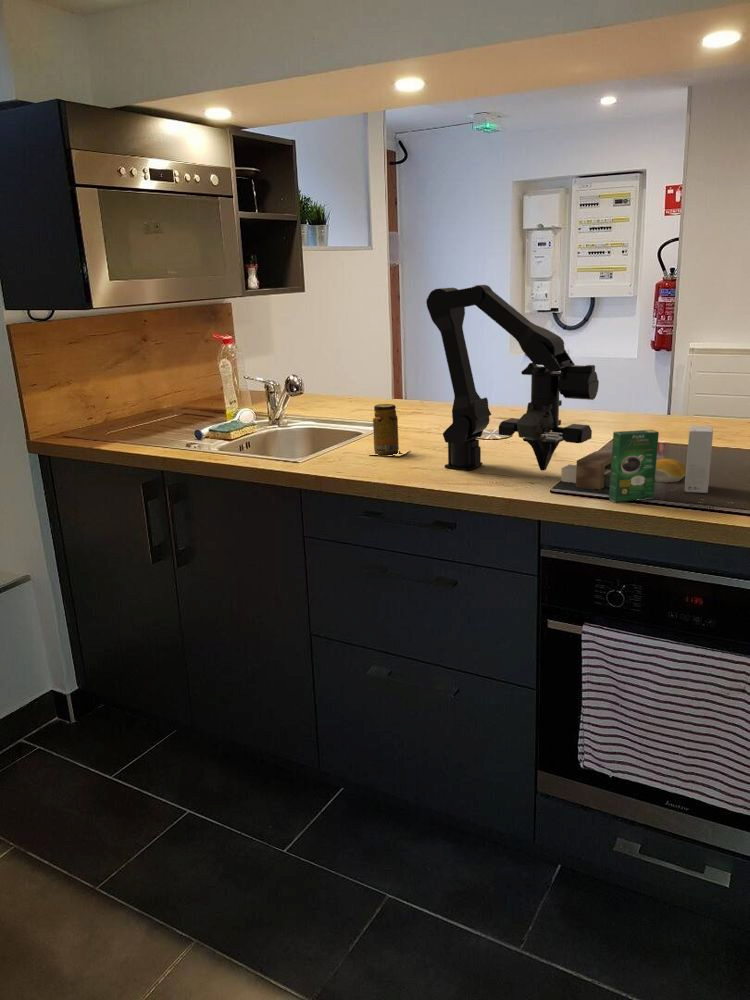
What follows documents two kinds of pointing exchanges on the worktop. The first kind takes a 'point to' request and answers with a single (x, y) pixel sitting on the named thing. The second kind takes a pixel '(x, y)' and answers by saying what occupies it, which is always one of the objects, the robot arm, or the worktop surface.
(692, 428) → the skincare box
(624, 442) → the coffee box
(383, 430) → the condiment
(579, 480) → the wooden block
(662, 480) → the bread roll
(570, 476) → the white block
